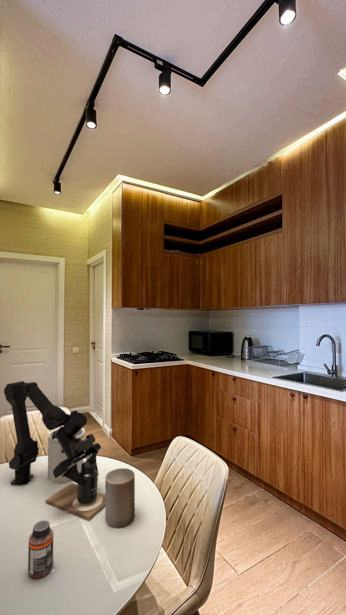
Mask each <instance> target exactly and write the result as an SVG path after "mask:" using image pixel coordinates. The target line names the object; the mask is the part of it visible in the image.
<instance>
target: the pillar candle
mask: <svg viewBox="0 0 346 615" xmlns="http://www.w3.org/2000/svg"><path fill="white" fill-rule="evenodd" d="M135 475H136V474H135V472H134V471H133V470H131V469H130V468H127V467H126V468H125V467H123V468H121V467H120V468H115V469H113V470H109V471H108V472H107V473H106V474H105V477H104V478H105V480H104V481H105V483H104V484H105V485H104V488H105V507H104V508H105V509H104V510H105V512H104V514H105V517H104V520H105V523H106V525H108V526H109V527H110V528H114V529H120V528H124V527H127V526H128V525H131V524H132V523H133V522H134V521H135V517H136V513H135V510H136V509H135V506H136V505H135V501H136V500H135V494H136V493H135V492H136V491H135V490H136V488H135V486H136V484H135V483H136V481H135V480H136V479H135Z"/></svg>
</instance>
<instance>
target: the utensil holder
mask: <svg viewBox="0 0 346 615" xmlns="http://www.w3.org/2000/svg"><path fill="white" fill-rule="evenodd" d="M59 428H60V427H58V428H56V429H53V430H49V432H48V433H47V441H48V442H47V443H48V444H47V449H48V450H47V452H48V453H47V477H48V480H49V481H51V482H52V483H57V484H64V483H69V482H70V483H71V482H73V481H72V480H71V479H68V478H66V477H62V475H63V474H64V473H63V474H62V475H61V476H59V477H57V478H55V477H54V475H53V469H54V468H55V467H56V466H57V465H58V464H59V463H60V462H62V461H64V460H66V459H67V456H66V454H65V453H63V454H62V453H61V451H62V450H63V449H62V447H61V445H60V444H59V442H58V440H57V438H56V439H53V440H52V436H53V432H54V431H56V430H58V429H59ZM75 436H76V438H80V439H81V440H85V436H86V430H85V428H84V427H83V428H82V429H81V430H80V431H79V432H78V433H77V434H76V435H75ZM80 458H81V457H80ZM82 463H84V459H82V460H81V461H79V462H77V470H78V472H79V473H80V472H81V465H82ZM75 464H76V463H75ZM75 464H74V465H75Z"/></svg>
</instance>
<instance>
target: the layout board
mask: <svg viewBox="0 0 346 615" xmlns="http://www.w3.org/2000/svg"><path fill="white" fill-rule="evenodd" d="M77 488H78V484H77V483H76V484H75V483H72V482H70V483H69V484H68V485H65V486H64V487H63V488H62V489H60V490H58V491H57V492H55V493H53V495H51V496H49V497H47V498H46V499H45V504H46V505H48V506H51V507H54V508H55V509H58V510H61V511H63V512H64V513H65V512H66V513H67V514H70V515H73V516H75V517H78V518H79V519H83V520H85V521H88V522H90V521H91V520H92V519H93V518H94V517H95V516H97V514H99V513H100V512H101V511H102V510H103V509H104V508H105V494H104V493H101V492H99V491H97V498H96V500H95V501H94V502H92V503H90V504H81V503H79V502H78V500H77Z"/></svg>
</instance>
